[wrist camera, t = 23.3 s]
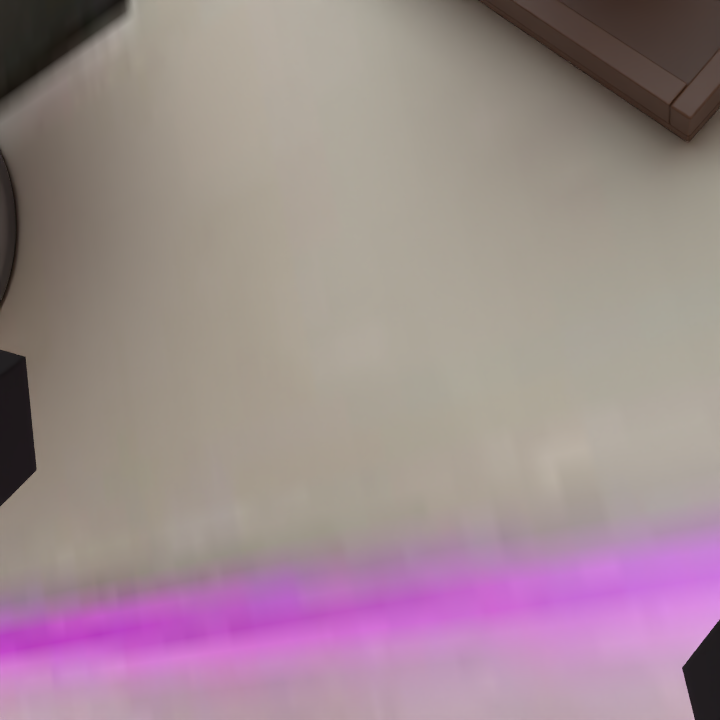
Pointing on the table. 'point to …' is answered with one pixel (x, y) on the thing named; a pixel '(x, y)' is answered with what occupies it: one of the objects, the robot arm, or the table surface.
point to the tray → (635, 50)
